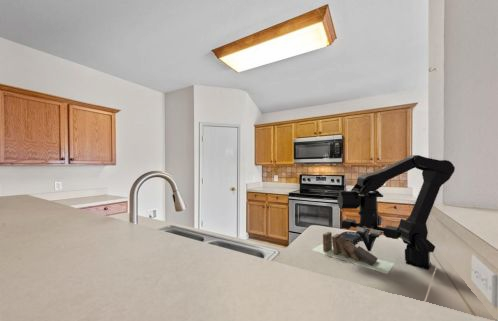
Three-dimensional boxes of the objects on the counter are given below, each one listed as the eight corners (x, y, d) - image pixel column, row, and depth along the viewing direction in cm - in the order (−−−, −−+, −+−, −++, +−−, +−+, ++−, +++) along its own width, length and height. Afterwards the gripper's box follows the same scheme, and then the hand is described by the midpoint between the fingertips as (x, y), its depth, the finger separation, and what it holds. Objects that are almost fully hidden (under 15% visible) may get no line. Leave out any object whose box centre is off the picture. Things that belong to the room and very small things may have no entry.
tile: (377, 258, 77) (359, 245, 82) (373, 262, 74) (354, 249, 79) (376, 261, 78) (357, 248, 83) (371, 265, 74) (353, 252, 79)
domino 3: (353, 252, 84) (343, 235, 87) (348, 256, 80) (338, 238, 83) (350, 253, 85) (340, 236, 87) (344, 257, 81) (335, 239, 84)
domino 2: (342, 251, 87) (340, 234, 88) (337, 254, 84) (335, 237, 84) (339, 250, 88) (337, 233, 89) (333, 254, 85) (331, 236, 85)
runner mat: (394, 264, 76) (394, 263, 76) (387, 275, 69) (387, 273, 69) (322, 244, 96) (322, 243, 96) (311, 250, 89) (311, 249, 89)
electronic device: (355, 250, 92) (364, 237, 103) (352, 238, 92) (362, 226, 103) (334, 248, 99) (345, 235, 110) (332, 236, 99) (343, 225, 110)
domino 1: (332, 248, 90) (331, 232, 90) (326, 252, 87) (326, 235, 87) (328, 247, 91) (328, 231, 91) (323, 251, 88) (322, 234, 88)
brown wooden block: (364, 255, 81) (349, 240, 85) (359, 259, 77) (344, 243, 81) (361, 257, 81) (347, 242, 86) (356, 261, 78) (342, 245, 82)
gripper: (403, 209, 76) (404, 251, 76) (350, 202, 90) (351, 239, 89) (396, 214, 68) (397, 261, 68) (339, 206, 82) (340, 246, 82)
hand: (369, 250), depth 77 cm, fingers closed
